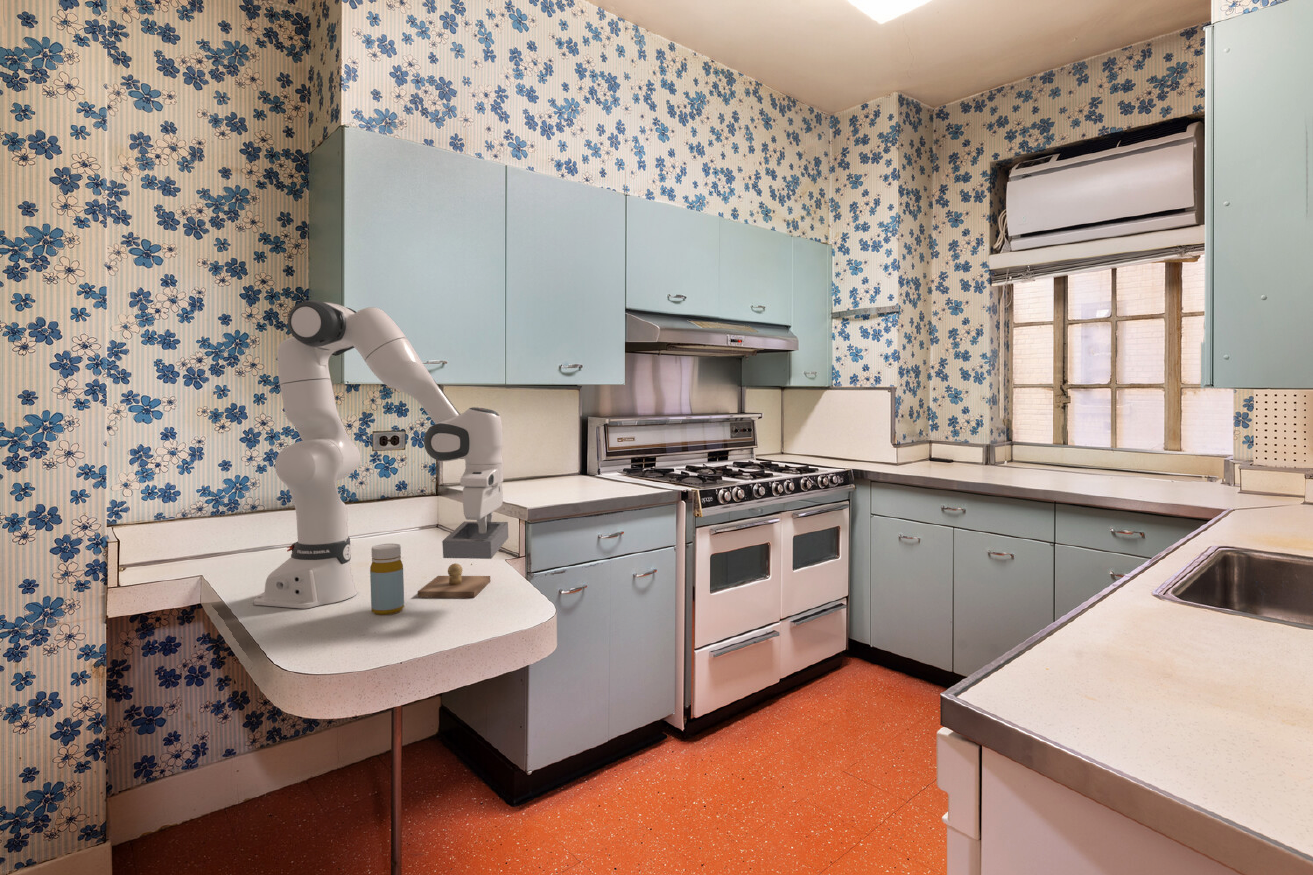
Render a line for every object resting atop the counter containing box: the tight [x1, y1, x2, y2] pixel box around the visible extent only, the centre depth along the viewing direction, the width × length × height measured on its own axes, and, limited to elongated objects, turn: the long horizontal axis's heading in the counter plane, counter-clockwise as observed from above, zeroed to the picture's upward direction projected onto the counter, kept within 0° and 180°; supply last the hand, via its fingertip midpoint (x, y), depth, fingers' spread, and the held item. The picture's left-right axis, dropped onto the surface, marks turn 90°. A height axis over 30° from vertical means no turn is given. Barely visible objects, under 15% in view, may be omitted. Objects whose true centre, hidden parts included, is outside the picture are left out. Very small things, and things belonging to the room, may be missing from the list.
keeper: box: [417, 562, 491, 599], centre depth 167 cm, size 14×14×7 cm
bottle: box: [369, 543, 405, 616], centre depth 150 cm, size 7×7×15 cm
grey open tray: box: [441, 521, 509, 560], centre depth 153 cm, size 11×15×4 cm
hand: (485, 531), depth 159 cm, fingers closed on grey open tray, 2 cm apart
